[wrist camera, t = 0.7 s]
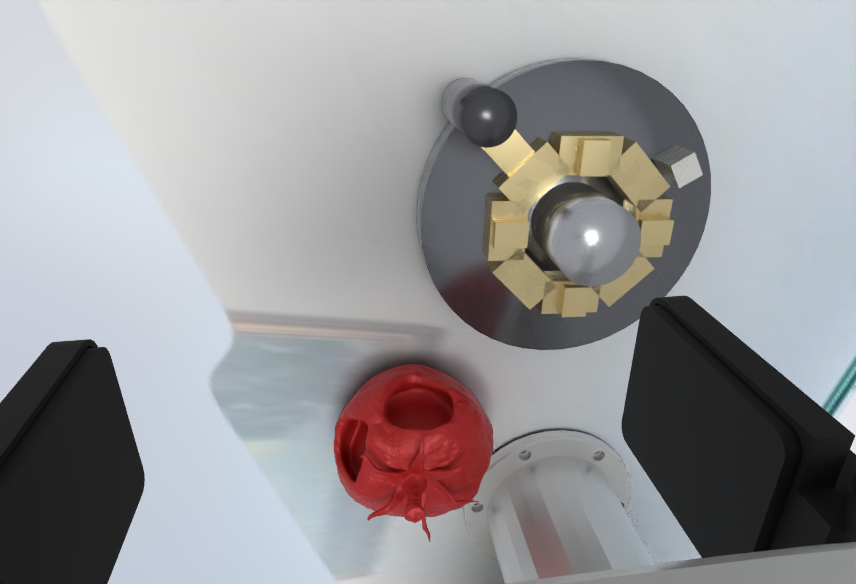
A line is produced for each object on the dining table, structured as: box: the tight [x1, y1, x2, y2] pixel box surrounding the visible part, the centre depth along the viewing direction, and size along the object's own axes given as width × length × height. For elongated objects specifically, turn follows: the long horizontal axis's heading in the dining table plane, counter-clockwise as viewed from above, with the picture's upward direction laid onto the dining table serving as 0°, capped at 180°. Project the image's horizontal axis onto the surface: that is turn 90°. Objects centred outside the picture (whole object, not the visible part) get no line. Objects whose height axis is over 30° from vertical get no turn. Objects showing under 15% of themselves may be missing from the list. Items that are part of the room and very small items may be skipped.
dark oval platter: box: [417, 58, 711, 350], centre depth 32 cm, size 17×17×6 cm
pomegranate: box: [334, 364, 493, 542], centre depth 36 cm, size 10×10×9 cm
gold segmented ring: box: [442, 78, 674, 317], centre depth 30 cm, size 15×10×6 cm, turn 44°
